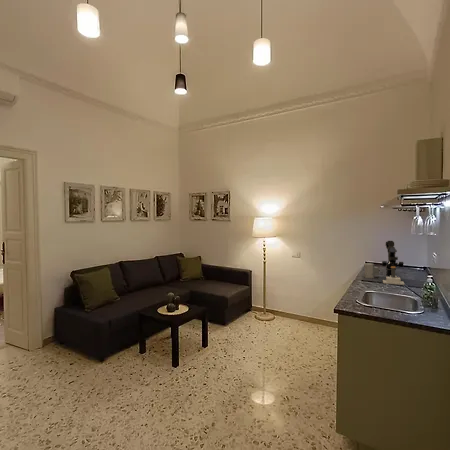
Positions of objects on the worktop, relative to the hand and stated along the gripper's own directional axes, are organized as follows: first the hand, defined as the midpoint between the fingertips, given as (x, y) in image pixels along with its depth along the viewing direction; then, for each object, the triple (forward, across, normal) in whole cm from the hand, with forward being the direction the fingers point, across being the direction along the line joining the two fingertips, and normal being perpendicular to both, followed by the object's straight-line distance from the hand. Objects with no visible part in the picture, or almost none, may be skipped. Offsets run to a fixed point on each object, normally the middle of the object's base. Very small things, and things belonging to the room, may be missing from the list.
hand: (393, 270), depth 290 cm
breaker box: (+10, 0, +7) cm, 12 cm away
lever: (+6, 0, +3) cm, 6 cm away
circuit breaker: (-3, -18, +20) cm, 27 cm away
